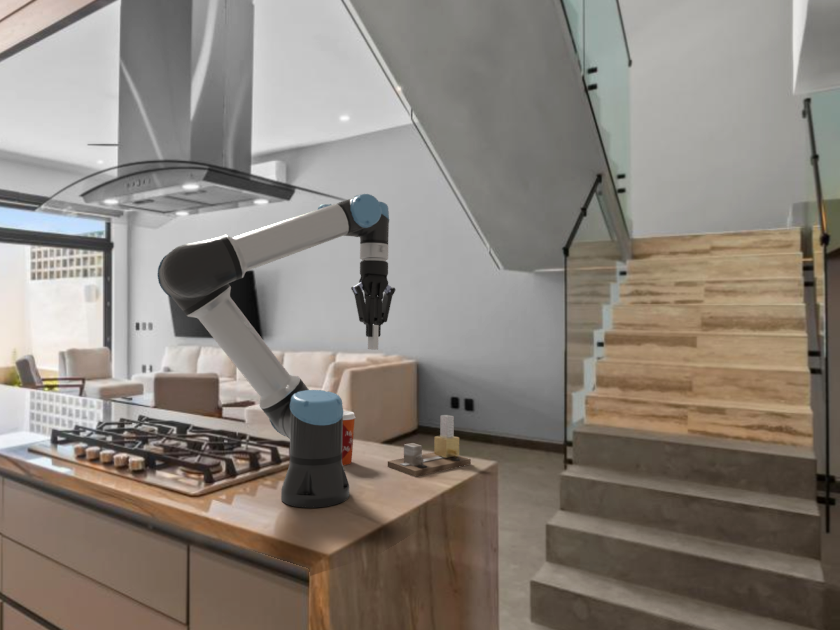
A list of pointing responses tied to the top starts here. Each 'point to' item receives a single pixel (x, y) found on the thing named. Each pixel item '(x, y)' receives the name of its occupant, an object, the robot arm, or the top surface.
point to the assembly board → (424, 461)
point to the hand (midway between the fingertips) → (373, 349)
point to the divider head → (446, 438)
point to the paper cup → (347, 437)
